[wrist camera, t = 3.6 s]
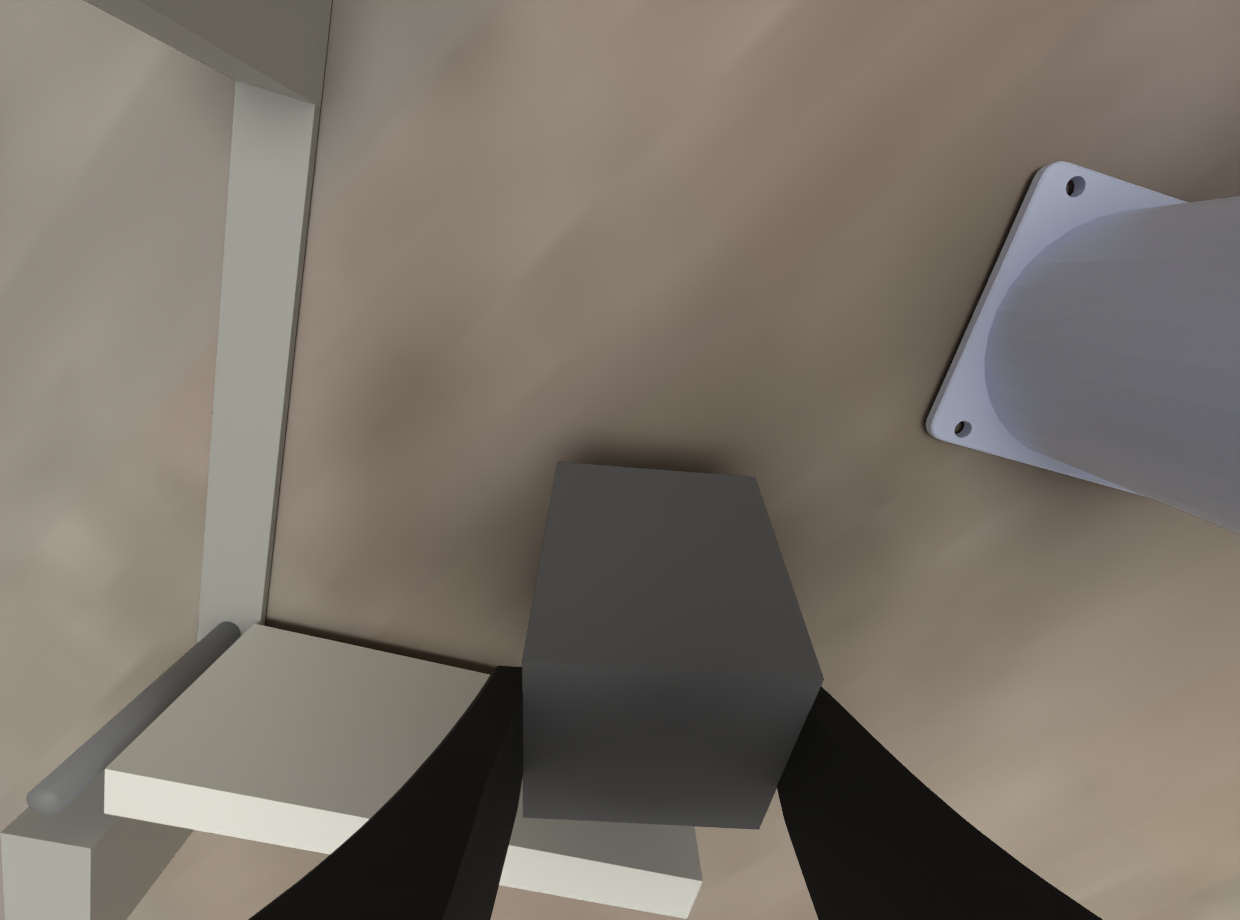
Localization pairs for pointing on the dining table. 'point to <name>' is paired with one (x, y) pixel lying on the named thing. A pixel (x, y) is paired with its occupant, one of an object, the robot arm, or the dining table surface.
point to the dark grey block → (661, 652)
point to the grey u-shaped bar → (240, 439)
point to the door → (360, 767)
